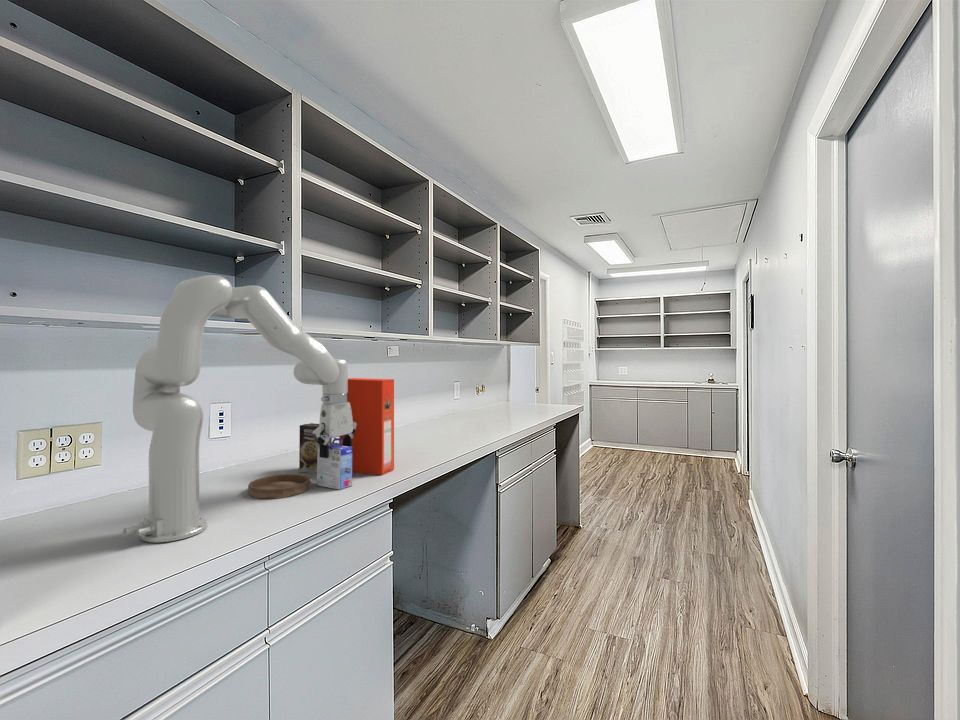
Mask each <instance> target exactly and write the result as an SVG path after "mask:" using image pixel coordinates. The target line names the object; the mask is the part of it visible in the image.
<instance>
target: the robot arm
mask: <svg viewBox="0 0 960 720" xmlns="http://www.w3.org/2000/svg"><path fill="white" fill-rule="evenodd" d="M210 317H216V318H224V319H235V320H237V319H238V320H241V319H247V320H248V321H249V323H250V324H251V325H252V326H253V328H255V329H256V331H257V332H258V333H259V334H260V335H261V336H262V338H263V339H264V340H265V341H266V342H267V343H268V345H270V346H271V347H272V348H275V349H277V350H278V351H280V352H284V353H287V354H289V355H292V356H294V357H295V358H296V359H297V360H298V359H299V360H300V361H298V362H297V363H296V364H295V365H294V368H293V376H294V378H295V379H296V380H297V381H298V382H299V383H301V384H305V385H313V386H314V385H316V386H317V385H319V386H321V388H322V389H321V391H322V393H321V394H322V397H320V401H321V402H322V404H321V407H320V412H319V423H318V424H319V427H318V428H316V429H315V430H314V431H313V436H314V438H315V440H316V442H317V443H318V444H319V449H320V457H321V458H328V457H329V445H327V443H328V441H329V439H330V437H331V438H332V439H334V438H339V436H344V437H345V438H343V446H349V447H352V439H351V438H353V434H354V433H355V429H356V426H357V423H355V422H353V418H352V410H351V405H350V402H348V374H349V370H348V366H349V364H348V361H347V360H346V359H343V358H334V357H333V355H332V354H331V353H330V352H329V351H328V349H326V347H325V346H324V345H323V344H322V343H320V341H318V340H316V339H315V338H314V337H312V336H311V335H310V334H308V333H307V332H305V331H304V330H302V329H301V328H299V327H298V326H297V325H296V324H295V323H294V322H293V320H292V319H291V318H290V317H289V316H288V314H287V313H286V312H285V311H284V310H283V307H281V305H280V304H279V303H278V302H277V301H276V299H275V298H274V297H273V296H272V295H271V294H270V292H269V291H268V290H267V289H266V288H265V287H262V286H260V285H243V286H238V287H237V286H235V287H234V286H232V283H231V282H230V281H229V280H228V279H227V278H226V277H223V276H222V275H221V276H220V275H217V274H215V275H214V274H210V275H209V274H207V275H201V276H197V277H195V278H194V277H193V278H189V279H185V280H182V281H180V282H178V284H177V285H176V286H175V288H174V290H173V295H172V296H171V298H170V299H169V300H168V301H167V302H166V304H165V306H164V308H163V310H162V313H161V316H160V320H159V325H158V334H157V340H156V341H157V343H156V345H155V346H153V347H151V348H148V349H147V350H145V351H144V352H143V353H142V354H141V355H140V357H139V358H138V361H137V363H136V366H135V372H134V381H133V382H134V383H133V395H132V396H133V397H132V415H133V419H134V421H135V422H136V424H137V425H138V426H139V427H141V428H142V429H144V430H146V431H150V432H152V436H151V440H150V443H149V448H148V449H149V450H148V515H145V516H143V520H142V521H140V522H139V523H138V524H136V525H134V524H133V525H129V526H126V527H123V528H122V535H123V536H124V537H125V538H127V537H130V536H133V535H136V536H137V537H138V536H139V537H140V540H141V541H144V542H147V543H156V544H157V543H168V542H175V541H179V540H184V539H187V538H190V537H193V536H195V535H198V534H201V533H202V532H204V530H205V529H207V528H208V520H206V519H205V518H203V517H200V440H201V434H202V429H203V428H202V427H203V423H204V422H203V421H204V412H203V407H202V406H201V404H200V403H199V401H198V400H197V399H196V398H194V397H193V396H190V395H189V394H186V393H181V392H180V391H181V387H186V386H189V385H191V384H193V383H194V382H196V381H197V379H198V378H199V376H200V372H201V366H202V365H201V364H202V363H201V362H202V351H203V349H202V347H203V337H204V331H205V326H206V323H207V322H208V320H209V318H210ZM320 435H321V436H320ZM324 438H325V440H324Z"/></svg>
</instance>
